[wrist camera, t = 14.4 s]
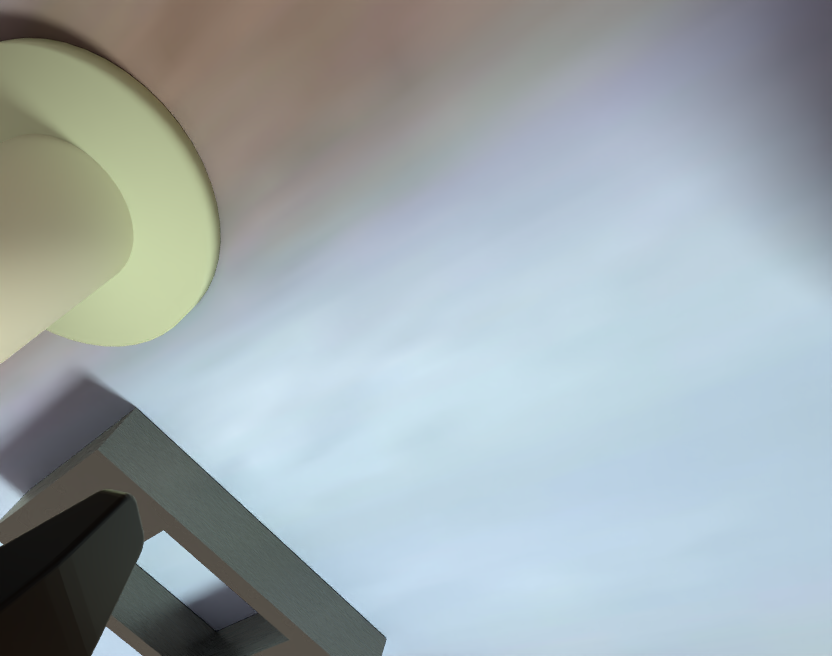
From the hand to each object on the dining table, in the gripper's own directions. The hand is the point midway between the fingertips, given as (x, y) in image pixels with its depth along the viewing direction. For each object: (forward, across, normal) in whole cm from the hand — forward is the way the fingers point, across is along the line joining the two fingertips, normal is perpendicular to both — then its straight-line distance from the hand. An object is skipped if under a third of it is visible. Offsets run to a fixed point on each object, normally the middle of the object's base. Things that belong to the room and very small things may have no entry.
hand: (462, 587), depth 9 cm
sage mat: (+13, +15, +2) cm, 20 cm away
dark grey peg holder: (+13, +12, +19) cm, 26 cm away
